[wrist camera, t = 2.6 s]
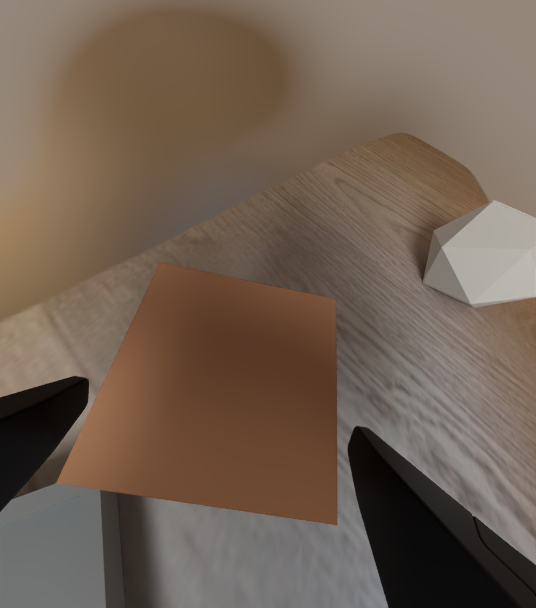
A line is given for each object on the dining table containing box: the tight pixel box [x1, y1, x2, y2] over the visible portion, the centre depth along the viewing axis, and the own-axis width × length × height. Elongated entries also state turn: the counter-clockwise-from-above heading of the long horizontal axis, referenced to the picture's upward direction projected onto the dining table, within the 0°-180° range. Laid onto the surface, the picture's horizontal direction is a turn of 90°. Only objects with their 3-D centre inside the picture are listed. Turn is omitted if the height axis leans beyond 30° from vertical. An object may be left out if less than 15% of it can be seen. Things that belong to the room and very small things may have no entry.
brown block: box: [56, 263, 337, 525], centre depth 11 cm, size 5×5×12 cm
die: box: [423, 200, 536, 308], centre depth 22 cm, size 8×9×10 cm
